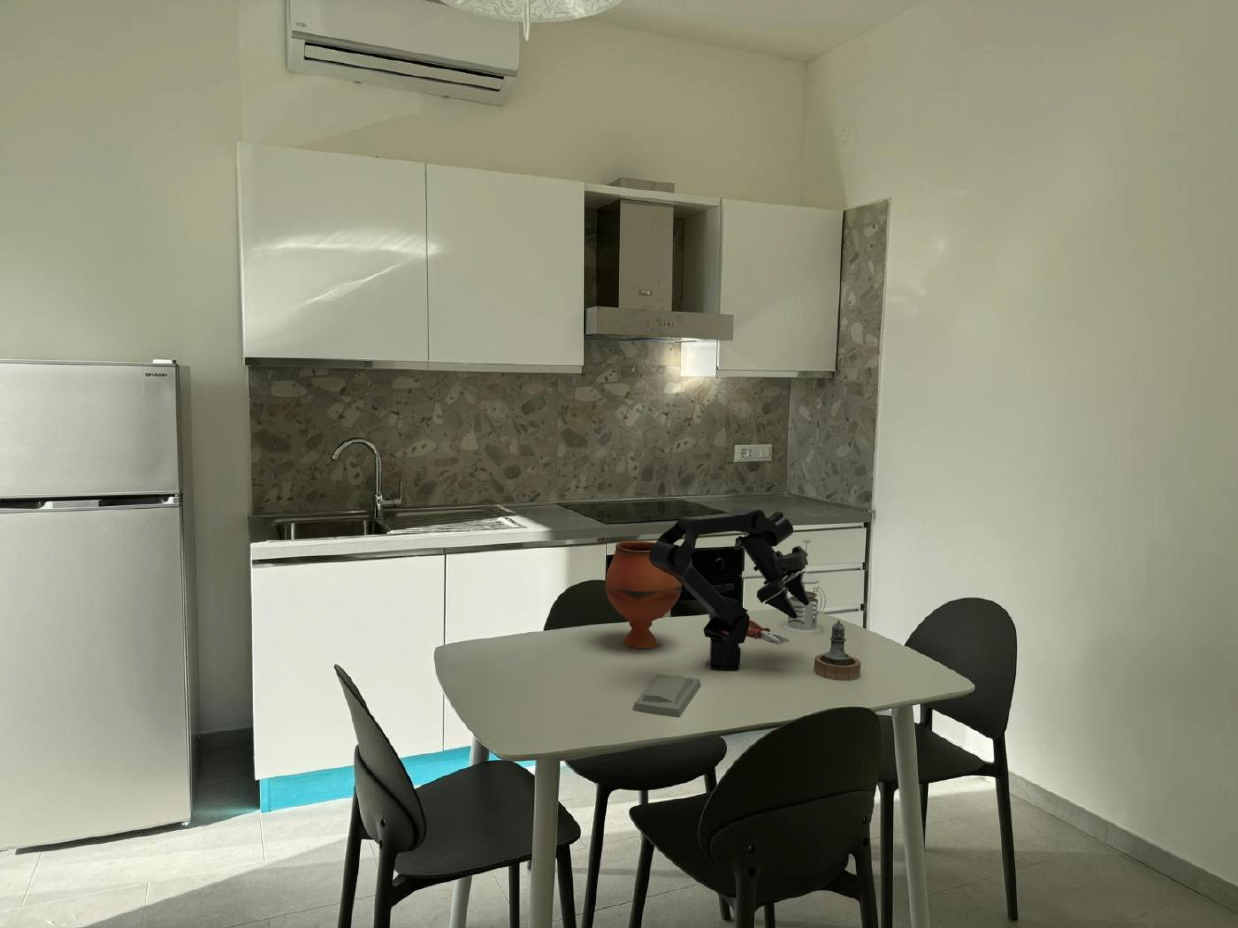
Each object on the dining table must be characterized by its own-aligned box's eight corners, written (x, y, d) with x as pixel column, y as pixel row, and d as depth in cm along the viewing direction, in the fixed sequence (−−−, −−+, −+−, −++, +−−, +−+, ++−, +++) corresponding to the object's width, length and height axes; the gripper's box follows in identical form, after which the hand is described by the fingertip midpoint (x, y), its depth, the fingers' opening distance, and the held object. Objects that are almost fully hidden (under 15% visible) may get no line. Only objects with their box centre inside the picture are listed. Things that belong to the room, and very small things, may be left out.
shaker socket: (819, 679, 202) (820, 666, 202) (810, 665, 212) (811, 652, 212) (864, 680, 202) (865, 667, 202) (853, 666, 212) (853, 654, 212)
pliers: (770, 649, 225) (771, 639, 225) (712, 631, 240) (713, 621, 240) (799, 642, 232) (800, 633, 232) (741, 625, 248) (742, 616, 248)
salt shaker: (818, 670, 207) (820, 619, 206) (831, 664, 211) (834, 614, 210) (840, 676, 203) (843, 624, 202) (854, 671, 207) (857, 620, 206)
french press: (799, 621, 251) (804, 533, 249) (833, 631, 242) (838, 540, 240) (776, 627, 245) (780, 536, 243) (810, 637, 236) (815, 543, 234)
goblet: (669, 659, 213) (674, 555, 211) (592, 649, 218) (595, 548, 216) (686, 637, 231) (690, 542, 229) (614, 629, 236) (618, 536, 234)
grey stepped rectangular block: (701, 688, 195) (702, 672, 194) (680, 720, 176) (681, 702, 175) (656, 682, 198) (656, 666, 197) (630, 712, 179) (630, 695, 178)
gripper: (776, 549, 199) (818, 608, 198) (801, 528, 216) (840, 582, 214) (739, 573, 205) (779, 631, 203) (766, 551, 221) (803, 604, 219)
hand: (802, 611), depth 210 cm, fingers open, 9 cm apart
